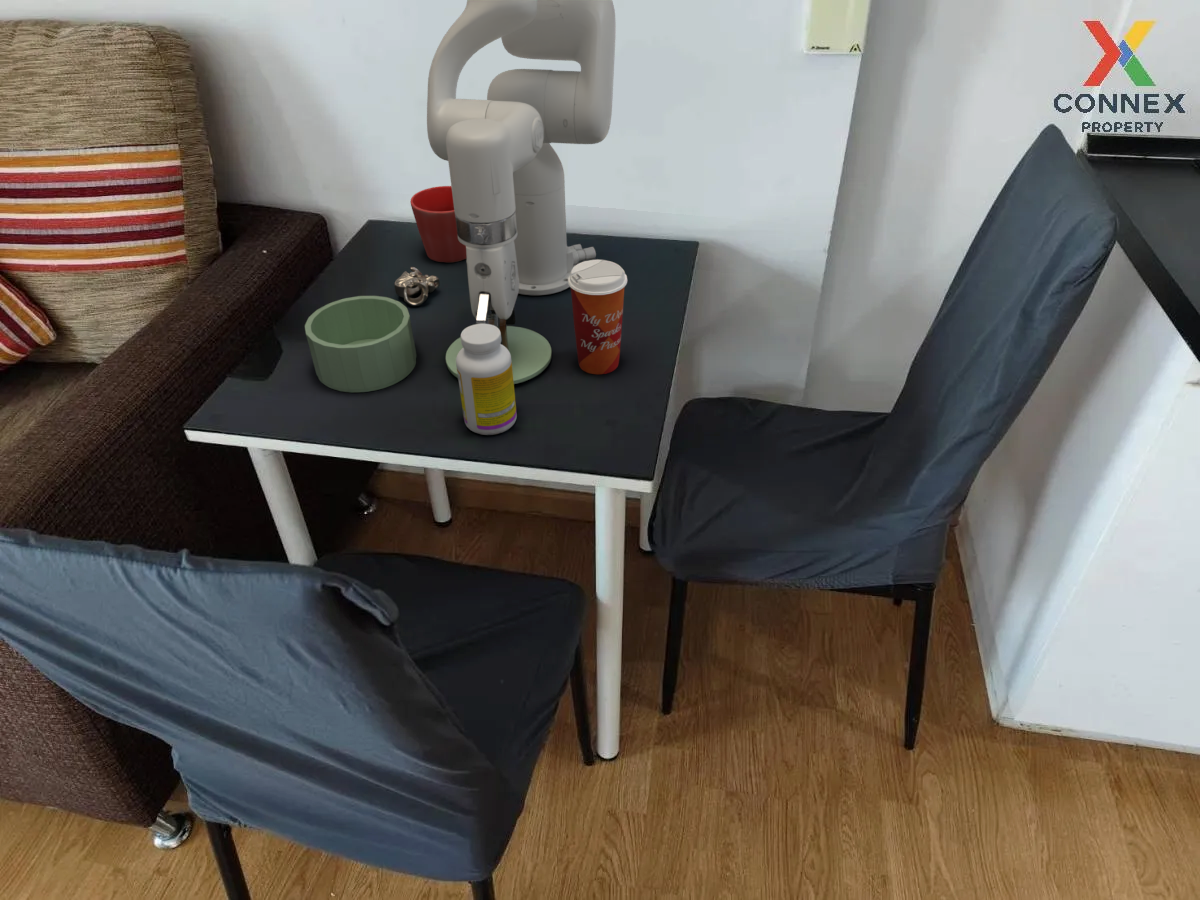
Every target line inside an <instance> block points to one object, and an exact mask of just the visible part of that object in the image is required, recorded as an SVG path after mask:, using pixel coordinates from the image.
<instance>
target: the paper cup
mask: <svg viewBox="0 0 1200 900" xmlns="http://www.w3.org/2000/svg"><path fill="white" fill-rule="evenodd" d="M568 284H569V286H570V287H569V288H570V293H571V294H570V295H571V304H572V305H571V306H572V317H573V328H574V335H575V336H574V337H575V347H576V355H577V362H578V365H579V368H580V369H581V370H582V371H583V372H585V373H587V374H592V375H606V374H610V373H612V372H614V371H615V370H616V369H617V368H618V367H619V364H620V356H621V343H622V328H623V316H624V315H623V314H624V301H625V300H624V299H625V298H624V297H625V287H626V286H627V284H628V276H627V274H626V272H625V270H624V269H623V267H622V266H621V265H619V264H618V263H617V262H613V261H610V260H606V259H591V260H587V261H580V262H579V263H578V264H577V265H576V266H574V267H573V269H572V270H571V275H570V276H569V278H568Z"/></svg>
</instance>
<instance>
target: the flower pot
mask: <svg viewBox="0 0 1200 900" xmlns="http://www.w3.org/2000/svg"><path fill="white" fill-rule="evenodd" d="M410 207H411V210H412V213H413V217H414V220H415V223H416V226H417V230H418V233H419V235H420V239H421V241H422V245H423V248H424V250H425V253H426V256H427V257H428V258H429V259H430V260H432V261H434V262H438V263H445V264H446V263H448V264H449V263H451V264H452V263H458V262H461V261H465V260H467V256H466V246H465V245H463V244H462V243H460V241H459V240H458V236H457V227H456V219H455V211H454V203H453V195H452V187H451V185H441V186H432V187H429V188H428V187H427V188H425V189H422V190H420V191H418V192H416V193H414V194H413V195H412V197H411V198H410Z"/></svg>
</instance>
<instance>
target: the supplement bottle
mask: <svg viewBox="0 0 1200 900" xmlns="http://www.w3.org/2000/svg"><path fill="white" fill-rule="evenodd" d="M460 337H461V344H462V346H463V348H462V349H461V350H460V351H459V353H458V355H457V357H456V367H457V373H458V378H457V380H458V387H459V394H460V401H461V402H460V403H461V408H462V409H461V410H462V416H463V421H464V425H465V426H466V427H467V428H468V430H470V431H472V433H475V434H479V435H482V436H483V435H484V436H493V435H499V434H502V433H504V432H507V431H509V429H511V428H512V427H513V426H514V425H515V423H516V421H517V417H518V414H517V404H516V403H517V402H516V392H515V384H514V382H513V371H512V360H511V355H510V352H509V351H508V349H507V348H506V347H505V346H503V345H502V344H501V332H500V330H499V329H498V328H497V327H496V326H494V325H490V324H476V323H475V324H472V325H469V326H467V327H465V328H464V329H463V330H462V331H461V333H460Z"/></svg>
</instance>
